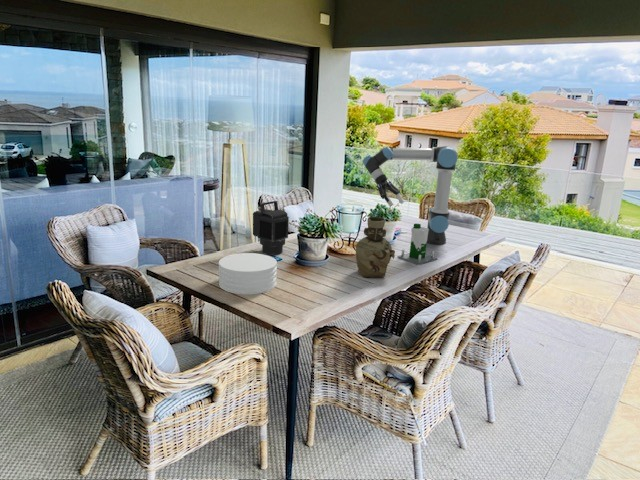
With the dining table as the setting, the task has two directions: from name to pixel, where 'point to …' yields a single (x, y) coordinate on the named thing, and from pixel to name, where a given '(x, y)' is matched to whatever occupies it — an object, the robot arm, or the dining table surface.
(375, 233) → the ceramic vessel
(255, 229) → the lantern
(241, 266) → the plate stack
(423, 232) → the soya milk
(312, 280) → the dining table surface
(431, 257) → the peg dock
